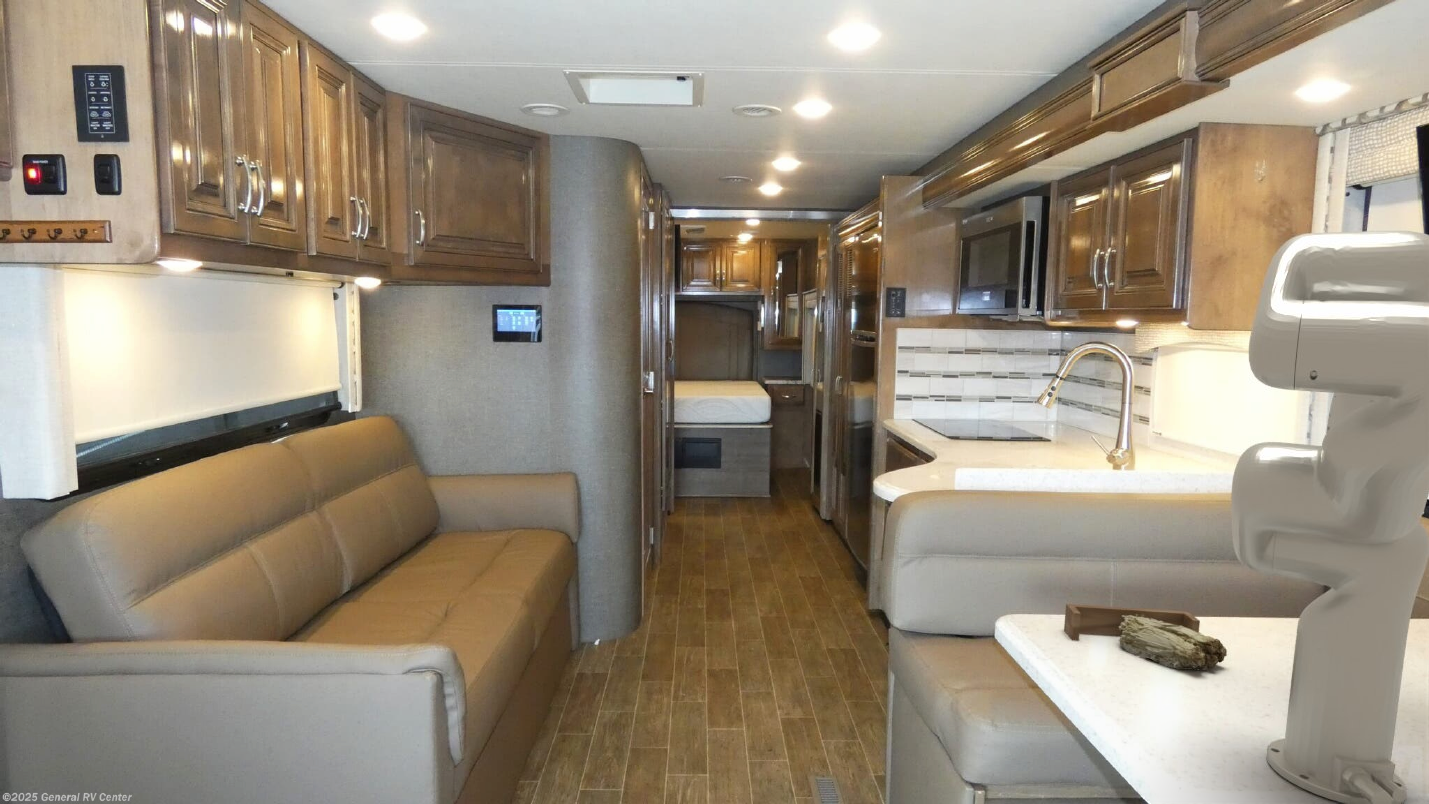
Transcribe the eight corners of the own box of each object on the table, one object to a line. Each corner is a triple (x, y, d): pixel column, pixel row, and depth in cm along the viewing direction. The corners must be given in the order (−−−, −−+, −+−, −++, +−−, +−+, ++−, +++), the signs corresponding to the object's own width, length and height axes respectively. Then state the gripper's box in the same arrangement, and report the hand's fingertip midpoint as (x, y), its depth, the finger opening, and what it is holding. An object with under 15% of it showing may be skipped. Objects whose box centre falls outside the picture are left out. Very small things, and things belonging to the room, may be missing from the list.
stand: (1197, 648, 127) (1199, 620, 127) (1072, 640, 129) (1074, 612, 129) (1185, 638, 131) (1187, 611, 131) (1064, 630, 133) (1066, 604, 133)
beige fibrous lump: (1231, 667, 121) (1234, 633, 121) (1200, 683, 116) (1203, 646, 115) (1135, 634, 133) (1138, 603, 132) (1103, 647, 128) (1106, 614, 127)
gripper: (1452, 380, 98) (1432, 527, 100) (1362, 370, 113) (1346, 498, 115) (1387, 378, 99) (1369, 525, 101) (1306, 368, 113) (1292, 496, 116)
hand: (1357, 510), depth 108 cm, fingers closed
